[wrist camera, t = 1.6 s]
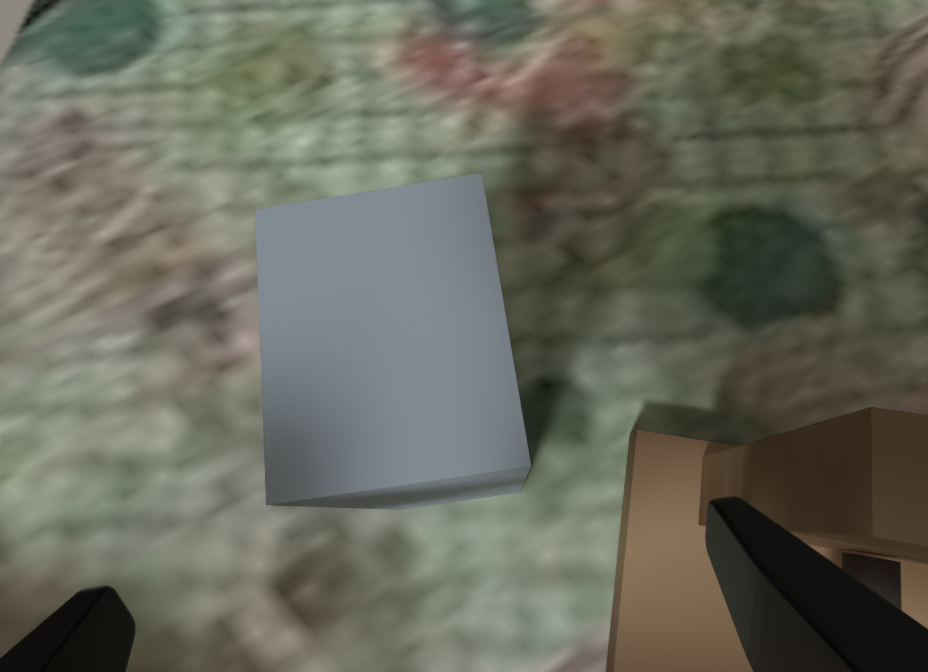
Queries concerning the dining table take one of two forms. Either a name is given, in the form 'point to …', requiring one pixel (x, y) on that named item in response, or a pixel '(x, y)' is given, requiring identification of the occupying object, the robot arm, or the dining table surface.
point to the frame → (781, 499)
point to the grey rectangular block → (386, 351)
